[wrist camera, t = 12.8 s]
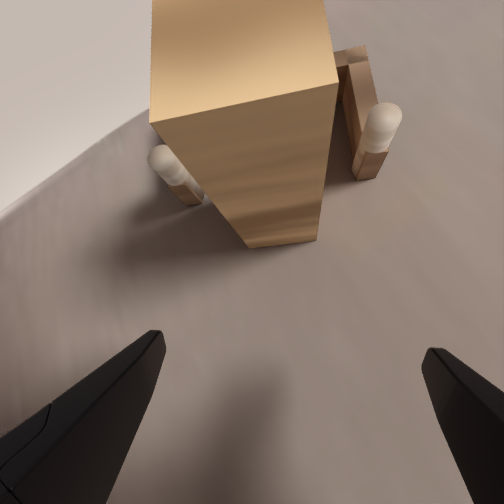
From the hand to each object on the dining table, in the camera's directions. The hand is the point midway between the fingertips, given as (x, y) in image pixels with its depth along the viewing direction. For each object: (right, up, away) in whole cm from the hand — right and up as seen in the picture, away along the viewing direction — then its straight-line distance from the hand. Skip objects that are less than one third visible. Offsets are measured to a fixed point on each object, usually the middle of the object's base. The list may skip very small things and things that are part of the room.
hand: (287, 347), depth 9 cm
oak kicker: (+1, +6, +9) cm, 11 cm away
